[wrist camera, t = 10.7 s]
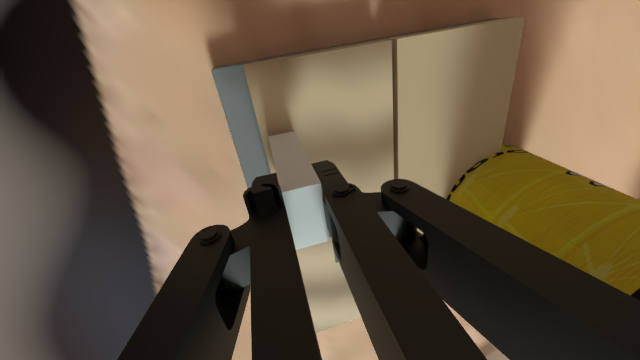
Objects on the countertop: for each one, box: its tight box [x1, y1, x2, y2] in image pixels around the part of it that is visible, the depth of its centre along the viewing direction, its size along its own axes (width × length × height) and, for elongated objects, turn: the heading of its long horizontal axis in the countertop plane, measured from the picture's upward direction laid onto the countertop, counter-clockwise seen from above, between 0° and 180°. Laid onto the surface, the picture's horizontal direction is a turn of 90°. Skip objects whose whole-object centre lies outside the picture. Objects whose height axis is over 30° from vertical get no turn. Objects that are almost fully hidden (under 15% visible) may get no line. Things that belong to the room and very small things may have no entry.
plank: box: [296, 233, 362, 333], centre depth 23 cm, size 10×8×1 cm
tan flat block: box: [243, 40, 394, 193], centre depth 17 cm, size 10×8×1 cm
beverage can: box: [447, 145, 640, 300], centre depth 18 cm, size 9×9×12 cm
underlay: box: [212, 16, 526, 234], centre depth 21 cm, size 22×18×2 cm
